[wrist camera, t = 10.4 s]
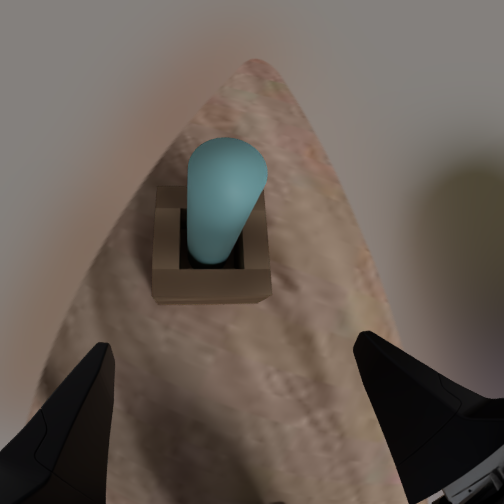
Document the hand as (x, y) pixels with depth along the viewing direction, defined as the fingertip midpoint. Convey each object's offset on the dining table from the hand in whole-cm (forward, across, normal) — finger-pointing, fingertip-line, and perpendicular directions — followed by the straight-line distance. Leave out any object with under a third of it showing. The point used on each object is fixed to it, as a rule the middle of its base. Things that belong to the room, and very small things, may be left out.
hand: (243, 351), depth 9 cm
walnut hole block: (+15, 0, +4) cm, 15 cm away
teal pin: (+14, 0, +4) cm, 15 cm away
